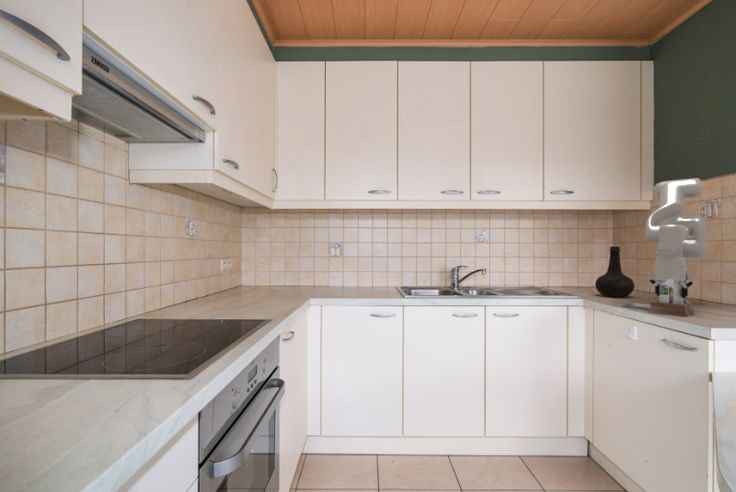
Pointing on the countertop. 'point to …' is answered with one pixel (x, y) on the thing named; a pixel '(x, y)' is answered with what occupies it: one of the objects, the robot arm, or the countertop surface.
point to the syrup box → (670, 292)
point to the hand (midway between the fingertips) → (671, 296)
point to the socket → (671, 308)
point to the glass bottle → (614, 278)
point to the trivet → (637, 305)
